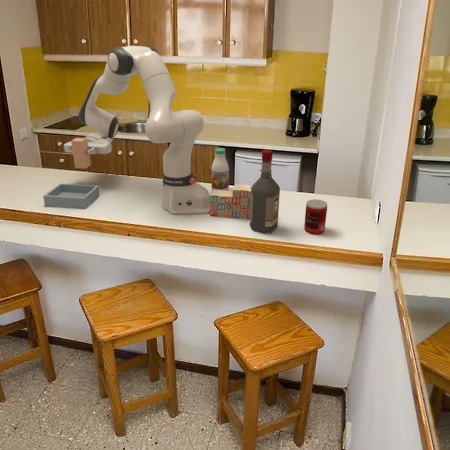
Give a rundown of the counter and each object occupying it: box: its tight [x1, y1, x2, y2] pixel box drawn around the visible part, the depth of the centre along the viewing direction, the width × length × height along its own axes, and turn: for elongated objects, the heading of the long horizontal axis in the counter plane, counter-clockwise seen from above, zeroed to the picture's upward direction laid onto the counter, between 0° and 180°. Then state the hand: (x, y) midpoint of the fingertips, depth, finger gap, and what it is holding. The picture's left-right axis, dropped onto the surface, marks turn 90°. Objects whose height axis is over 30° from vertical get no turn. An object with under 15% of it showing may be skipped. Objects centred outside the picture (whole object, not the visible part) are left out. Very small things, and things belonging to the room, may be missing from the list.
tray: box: [42, 183, 101, 210], centre depth 195 cm, size 18×15×4 cm
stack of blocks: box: [209, 184, 253, 221], centre depth 180 cm, size 21×6×12 cm, turn 79°
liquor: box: [249, 149, 281, 234], centre depth 166 cm, size 9×9×30 cm
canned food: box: [303, 198, 328, 235], centre depth 169 cm, size 8×8×11 cm
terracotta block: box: [70, 137, 92, 170], centre depth 197 cm, size 5×5×12 cm
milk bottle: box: [211, 147, 230, 191], centre depth 201 cm, size 8×8×20 cm
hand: (80, 152), depth 195 cm, fingers closed on terracotta block, 5 cm apart
